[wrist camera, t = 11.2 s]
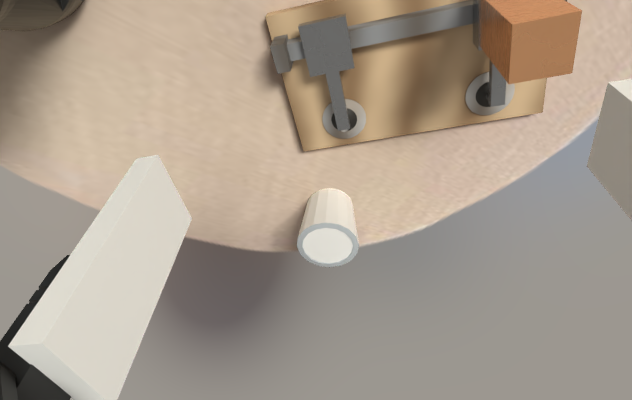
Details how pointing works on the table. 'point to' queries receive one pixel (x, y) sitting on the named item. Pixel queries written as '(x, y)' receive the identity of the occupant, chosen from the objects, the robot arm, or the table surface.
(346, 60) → the fixed leg
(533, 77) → the block
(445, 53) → the bolt plate
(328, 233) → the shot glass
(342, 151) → the table surface
